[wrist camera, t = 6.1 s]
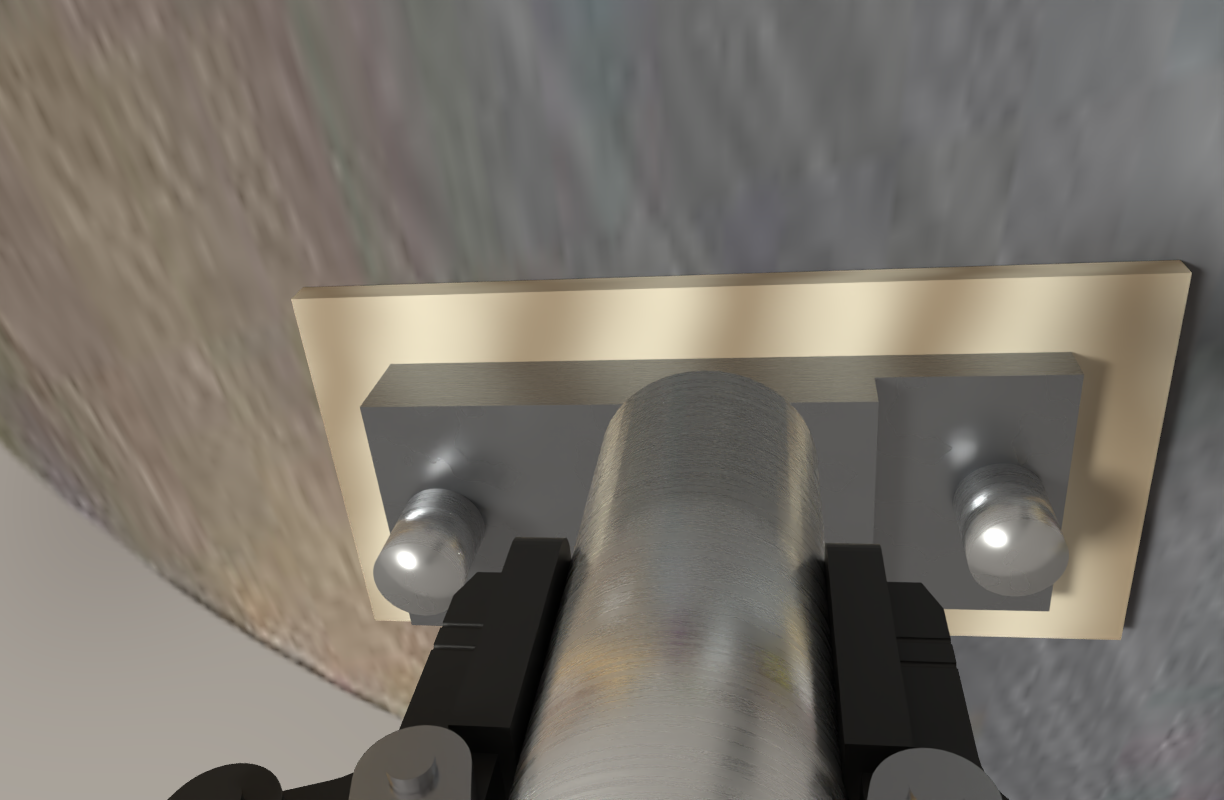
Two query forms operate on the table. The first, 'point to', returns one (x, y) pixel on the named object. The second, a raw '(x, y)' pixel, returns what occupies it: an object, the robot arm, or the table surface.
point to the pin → (693, 611)
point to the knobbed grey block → (833, 411)
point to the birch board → (801, 327)
